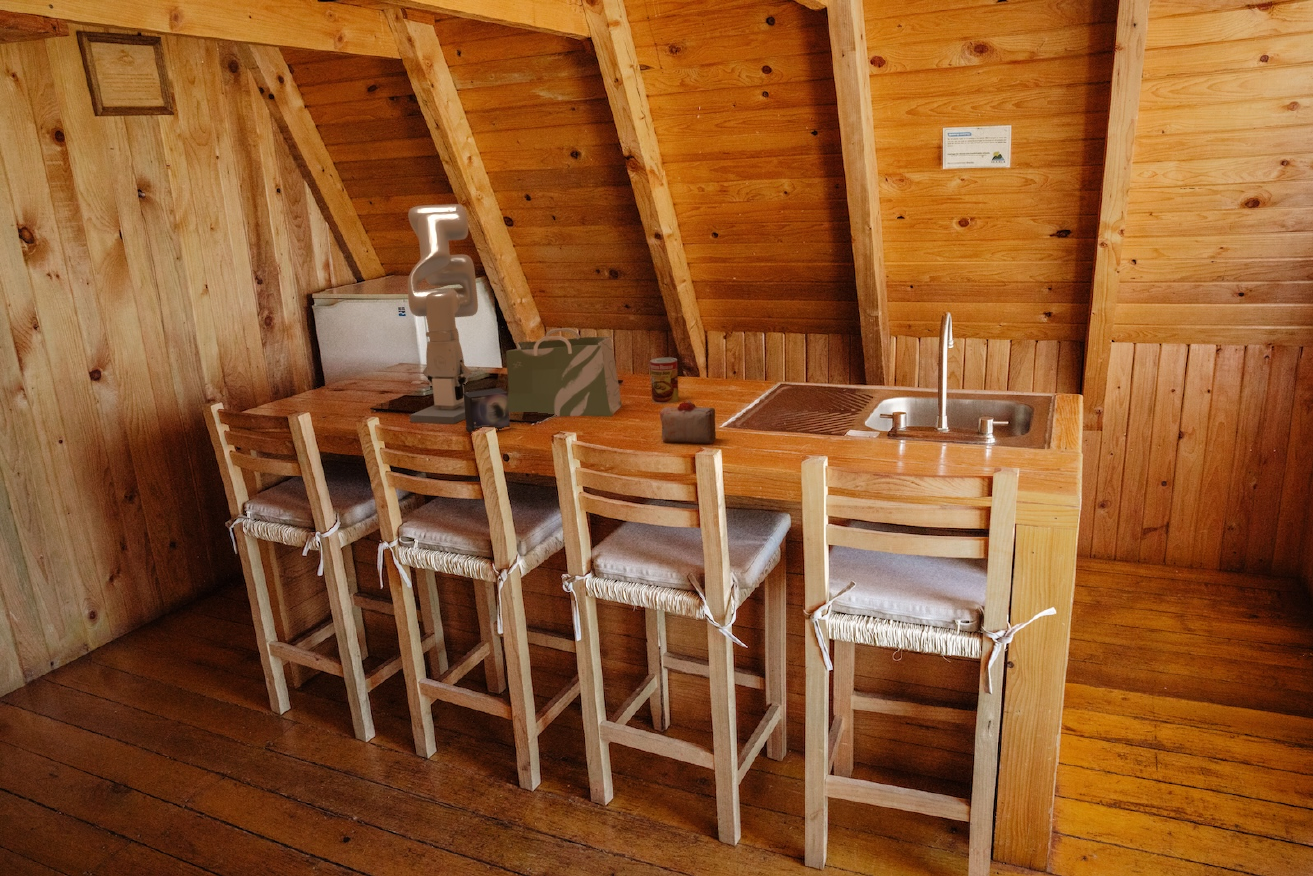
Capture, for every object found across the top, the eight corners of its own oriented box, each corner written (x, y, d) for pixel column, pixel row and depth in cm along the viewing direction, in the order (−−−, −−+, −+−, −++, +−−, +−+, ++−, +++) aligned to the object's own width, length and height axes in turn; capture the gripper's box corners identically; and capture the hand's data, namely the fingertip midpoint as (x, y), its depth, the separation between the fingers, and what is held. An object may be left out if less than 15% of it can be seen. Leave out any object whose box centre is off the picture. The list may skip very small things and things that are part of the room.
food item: (657, 444, 233) (655, 404, 231) (666, 435, 241) (664, 397, 238) (711, 446, 229) (709, 406, 227) (718, 437, 237) (717, 398, 234)
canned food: (647, 402, 277) (645, 362, 274) (657, 396, 284) (656, 357, 281) (672, 403, 274) (671, 362, 271) (682, 397, 281) (681, 357, 278)
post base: (448, 405, 285) (445, 379, 283) (489, 407, 280) (487, 380, 278) (410, 422, 267) (407, 394, 265) (454, 424, 262) (451, 395, 260)
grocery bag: (502, 415, 270) (495, 334, 264) (520, 404, 283) (513, 327, 277) (610, 417, 262) (605, 333, 256) (623, 405, 275) (619, 326, 269)
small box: (472, 435, 249) (469, 396, 246) (465, 430, 255) (461, 392, 252) (511, 429, 254) (507, 391, 251) (503, 424, 259) (500, 387, 257)
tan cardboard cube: (446, 400, 276) (443, 374, 274) (464, 400, 274) (462, 375, 272) (434, 405, 271) (431, 379, 269) (453, 405, 269) (450, 379, 267)
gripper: (409, 338, 267) (416, 400, 272) (462, 339, 261) (469, 402, 266) (424, 333, 274) (430, 394, 279) (476, 334, 268) (482, 396, 273)
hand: (449, 398), depth 272 cm, fingers closed on tan cardboard cube, 5 cm apart
